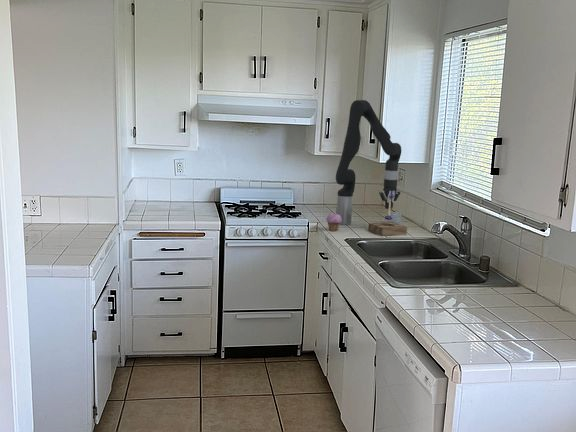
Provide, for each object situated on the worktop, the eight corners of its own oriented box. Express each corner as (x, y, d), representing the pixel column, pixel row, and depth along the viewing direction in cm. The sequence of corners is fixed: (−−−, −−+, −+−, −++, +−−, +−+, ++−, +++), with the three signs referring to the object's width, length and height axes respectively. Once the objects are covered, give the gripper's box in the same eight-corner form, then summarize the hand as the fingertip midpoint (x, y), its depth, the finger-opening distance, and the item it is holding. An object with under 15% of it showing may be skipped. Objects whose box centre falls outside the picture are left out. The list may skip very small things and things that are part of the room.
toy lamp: (382, 218, 334) (384, 189, 331) (386, 217, 338) (388, 189, 335) (390, 220, 332) (392, 190, 329) (393, 219, 335) (396, 190, 332)
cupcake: (324, 228, 340) (325, 211, 338) (338, 228, 342) (339, 211, 340) (328, 232, 332) (328, 214, 330) (342, 232, 333) (343, 214, 331)
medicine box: (400, 226, 355) (401, 212, 354) (400, 228, 351) (401, 213, 349) (387, 225, 357) (388, 211, 356) (387, 226, 353) (388, 212, 351)
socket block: (368, 230, 340) (368, 222, 339) (391, 229, 346) (391, 221, 345) (382, 236, 326) (383, 227, 326) (406, 234, 333) (406, 226, 332)
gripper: (397, 177, 337) (395, 207, 340) (376, 177, 331) (374, 207, 334) (404, 179, 330) (402, 209, 333) (384, 179, 324) (382, 210, 328)
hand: (388, 208), depth 334 cm, fingers closed on toy lamp
